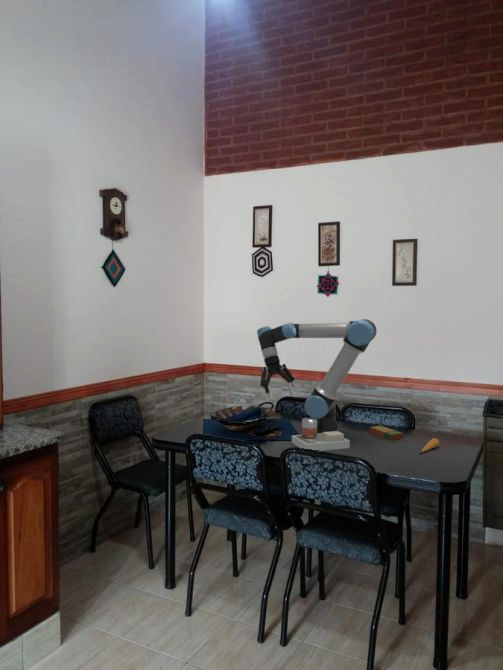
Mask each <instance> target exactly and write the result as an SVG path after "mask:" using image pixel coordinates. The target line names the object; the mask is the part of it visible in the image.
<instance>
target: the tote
mask: <svg viewBox="0 0 503 670" xmlns="http://www.w3.org/2000/svg"><path fill="white" fill-rule="evenodd" d="M322 440H323V433H317V442H316V443H313V444H307V443H306V442H304V441H302V434H296V435H291V444H292V445H294V446H296V447H297V448H299V449H301V448H304V449H312V450H319V451H318V452H323V451H324V452H327V451H335V450H336V451H337V450H345V449H350V444H351V443H350V442H351V441H350V440H349V439H348V438H345V437H344V441H334V442H323V443H322Z"/></svg>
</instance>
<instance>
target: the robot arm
mask: <svg viewBox="0 0 503 670" xmlns="http://www.w3.org/2000/svg"><path fill="white" fill-rule="evenodd" d="M377 332H378V330H377V326H376V325H375V323H374V322H372V321H371V320H370V319H367V318H366V319H357V320H350V321H348V322H341V323H340V322H338V323H337V322H336V323H335V322H334V323H333V322H330V323H329V322H327V323H322V322H321V323H293V322H288V323H285V324H282V325H279V326H277V327H274V328H271V326H262V327H260V328H258V329H257V330H256V334H257V339H258V342H259V345H260V349H261V353H262V357H263V358H264V359H263V361H264V366H263V367H261V376H260V384H259V386H260V387H262V388H264V391H265V394H266V395H267V399H268V401H271V400H273V399H274V398H273V393H272V390H271V386H270V385H269V384H270V383H271V382H270V381H271V379H272V376H274V375H275V376H276V375H279V376H280V377H281V378H282V379H283V380H284V381H286V382H287V383H286V386H287V388H288V392H289V396H290V397H293V396H294V395H295V391H294V385H293V382H294V381H295V380H296V379H295V377H294V376H293V374H292V373H291V371H290V370H289V369H288V368H287V365H286V363H283V364H280V362H281V361H280V356H279V353H278V349H277V347H276V344H278V343H280V342H284V341H288V340H289V339H290V340H291V339H343V340H342V341H343V345H342V347H341V349H340V351H339V353H337V356H336V357H335V358H334V361H333V363H332V364H331V366H330V368H329V369H328V371H327V372H326V374H325V376H324V378H323V379H322V381H321V382H320V385H317V386H315V387H314V388H313V391H312V392H311V394H310V395H309V396H308V397H307V398H306V400H305V402H304V411H305V413H306V414H307V415H308V416H310V417H309V418H315V419H317V433H323V432H332V431H339V426H338V423H337V419H336V404H337V403H336V402H337V392H338V390H339V388H341V385H342V384H343V382H344V380H345V379H346V376H347V375H348V374H349V372H350V370H351V368H352V367H353V365H354V364H355V361H356V360H357V359H358V356H359V355H360V354H361V353H362V354H363V353H365V351H366V350H367V348H368V346H369V345H370V343H371V342H372V341H373V340H374V339H375V338H376V336H377ZM267 372H268V373H267Z"/></svg>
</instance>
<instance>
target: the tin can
mask: <svg viewBox="0 0 503 670" xmlns="http://www.w3.org/2000/svg"><path fill="white" fill-rule="evenodd" d="M301 435H302V441H304V442H306V443H307V444H313V443H316V442H317V419H315V418H312V417H304V418H302V419H301Z"/></svg>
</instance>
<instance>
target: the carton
mask: <svg viewBox="0 0 503 670" xmlns="http://www.w3.org/2000/svg"><path fill="white" fill-rule="evenodd" d="M368 431H369V432H368V434H369V435H370V434H371V435H370V436H372V435H374V436H373V437H375V436H377V437H376V438H378V437H380V438H379V439H381V438H382V439H381V440H384V439H386V440H389V441H394V440H400V439H403V440H404V433H403V432H401V431H398V430H395V429H392V428H389V427H385V426H384V425H377V426H369V430H368ZM386 440H385V441H386ZM389 441H388V442H389Z"/></svg>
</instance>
